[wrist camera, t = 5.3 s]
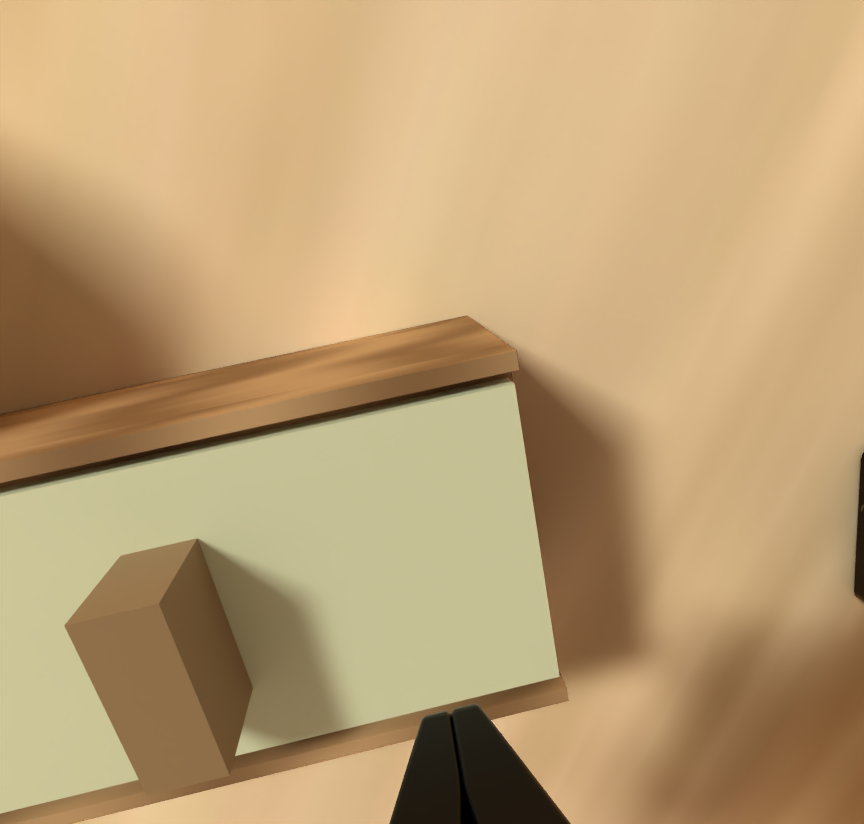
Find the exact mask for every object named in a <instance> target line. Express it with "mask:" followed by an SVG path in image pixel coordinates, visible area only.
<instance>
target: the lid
mask: <svg viewBox="0 0 864 824" xmlns="http://www.w3.org/2000/svg"><path fill="white" fill-rule="evenodd" d="M556 677H560V676H559V670H558V663H557V656H556V650H555V643H554V637H553V630H552V624H551V617H550V611H549V604H548V598H547V591H546V585H545V578H544V572H543V565H542V558H541V552H540V545H539V539H538V532H537V526H536V519H535V513H534V506H533V500H532V493H531V487H530V480H529V473H528V467H527V460H526V454H525V447H524V441H523V434H522V428H521V421H520V415H519V408H518V402H517V395H516V388H515V384H514V383H513V382H512V381H511V380H510V379H509V378H508V377H507V378H503V379H498V380H493V381H489V382H484V383H480V384H475V385H471V386H466V387H461V388H457V389H452V390H448V391H443V392H438V393H434V394H429V395H425V396H420V397H416V398H411V399H406V400H402V401H397V402H393V403H388V404H384V405H379V406H374V407H370V408H365V409H361V410H356V411H351V412H347V413H342V414H338V415H333V416H329V417H324V418H319V419H315V420H310V421H306V422H301V423H296V424H292V425H287V426H283V427H278V428H274V429H269V430H264V431H260V432H255V433H251V434H246V435H241V436H237V437H232V438H228V439H223V440H219V441H214V442H209V443H205V444H200V445H196V446H191V447H186V448H182V449H177V450H173V451H168V452H164V453H159V454H154V455H150V456H145V457H141V458H136V459H131V460H127V461H122V462H118V463H113V464H109V465H104V466H99V467H95V468H90V469H86V470H81V471H77V472H72V473H67V474H63V475H58V476H54V477H49V478H44V479H40V480H35V481H31V482H26V483H22V484H17V485H12V486H8V487H3V488H0V814H1V813H5V812H9V811H13V810H17V809H21V808H25V807H30V806H34V805H38V804H42V803H46V802H50V801H54V800H58V799H62V798H66V797H70V796H74V795H79V794H83V793H87V792H91V791H95V790H99V789H103V788H107V787H111V786H115V785H119V784H123V783H128V782H132V781H136V780H139V781H140V783H141V785H142V787H143V789H144V792H145V794H146V796H149V795H153V794H157V793H162V792H166V791H170V790H174V789H178V788H182V787H186V786H190V785H194V784H198V783H202V782H206V781H210V780H214V779H218V778H222V777H226V776H230V773H231V769H232V766H233V762H234V758H235V756H238V755H242V754H246V753H250V752H254V751H258V750H262V749H266V748H270V747H274V746H279V745H283V744H287V743H291V742H295V741H299V740H303V739H307V738H311V737H315V736H319V735H323V734H328V733H332V732H336V731H340V730H344V729H348V728H352V727H356V726H360V725H364V724H368V723H372V722H377V721H381V720H385V719H389V718H393V717H397V716H401V715H405V714H409V713H413V712H417V711H421V710H426V709H430V708H434V707H438V706H442V705H446V704H450V703H454V702H458V701H462V700H466V699H470V698H475V697H479V696H483V695H487V694H491V693H495V692H499V691H503V690H507V689H511V688H515V687H519V686H524V685H528V684H532V683H536V682H540V681H544V680H548V679H552V678H556Z"/></svg>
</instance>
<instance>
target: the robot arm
mask: <svg viewBox="0 0 864 824" xmlns="http://www.w3.org/2000/svg"><path fill="white" fill-rule="evenodd" d="M854 592H855V596H856V597H857V598H858V599H860V600H861V601H862V602H864V453H863V454H862V458H861V470H860V489H859V509H858V528H857V548H856V567H855V587H854ZM390 824H571V823H570V822H569V821H568V820H567V818H566V817H565V816H564V814H563V813H562V812H561V810H560V809H559V808H558V807H557V805H556V804H555V803H554V801H553V800H552V799H551V798H550V796H549V795H548V794H547V792H546V791H545V790H544V789H543V787H542V786H541V785H540V783H539V782H538V781H537V779H536V778H535V777H534V776H533V774H532V773H531V772H530V770H529V769H528V768H527V767H526V765H525V764H524V763H523V761H522V760H521V759H520V757H519V756H518V755H517V754H516V752H515V751H514V750H513V748H512V747H511V746H510V745H509V743H508V742H507V741H506V739H505V738H504V737H503V735H502V734H501V733H500V732H499V730H498V729H497V728H496V726H495V725H494V724H493V723H492V721H491V720H490V719H489V717H488V716H487V715H486V713H485V712H484V711H483V710H482V708H481V707H480V706H479V705H478V704H470V705H466V706H462V707H458V708H454V709H453V710H452V712H451V714H450V712H449V711H441V712H437V713H433V714H429V715H426V716H424V717H423V719H422V721H421V723H420V726H419V730H418V733H417V736H416V739H415V743H414V746H413V749H412V752H411V756H410V759H409V762H408V765H407V769H406V772H405V775H404V778H403V782H402V785H401V788H400V791H399V795H398V798H397V801H396V804H395V807H394V811H393V814H392V817H391V820H390Z"/></svg>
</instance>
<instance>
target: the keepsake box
mask: <svg viewBox="0 0 864 824" xmlns="http://www.w3.org/2000/svg"><path fill="white" fill-rule="evenodd" d="M517 370H519V365H518V358H517V351H516V350H515V349H513V348H512V347H511V346H509V345H508V344H506V343H505V342H504V341H502V340H501V339H499V338H498V337H497V336H495V335H494V334H492V333H491V332H490V331H488V330H487V329H485V328H484V327H483V326H481V325H480V324H478V323H477V322H475V321H474V320H473V319H471V318H470V317H468V316H463V317H458V318H454V319H449V320H444V321H439V322H435V323H430V324H425V325H421V326H416V327H411V328H406V329H402V330H397V331H392V332H388V333H383V334H378V335H373V336H369V337H364V338H359V339H355V340H350V341H345V342H341V343H336V344H331V345H326V346H322V347H317V348H312V349H308V350H303V351H298V352H293V353H289V354H284V355H279V356H275V357H270V358H265V359H260V360H256V361H251V362H246V363H242V364H237V365H232V366H227V367H223V368H218V369H213V370H209V371H204V372H199V373H194V374H190V375H185V376H180V377H176V378H171V379H166V380H161V381H157V382H152V383H147V384H143V385H138V386H133V387H128V388H124V389H119V390H114V391H110V392H105V393H100V394H95V395H91V396H86V397H81V398H77V399H72V400H67V401H62V402H58V403H53V404H48V405H44V406H39V407H34V408H30V409H25V410H20V411H15V412H11V413H6V414H1V415H0V488H3V487H8V486H12V485H17V484H22V483H26V482H31V481H35V480H40V479H44V478H49V477H54V476H58V475H63V474H67V473H72V472H77V471H81V470H86V469H90V468H95V467H99V466H104V465H109V464H113V463H118V462H122V461H127V460H131V459H136V458H141V457H145V456H150V455H154V454H159V453H164V452H168V451H173V450H177V449H182V448H186V447H191V446H196V445H200V444H205V443H209V442H214V441H219V440H223V439H228V438H232V437H237V436H241V435H246V434H251V433H255V432H260V431H264V430H269V429H274V428H278V427H283V426H287V425H292V424H296V423H301V422H306V421H310V420H315V419H319V418H324V417H329V416H333V415H338V414H342V413H347V412H351V411H356V410H361V409H365V408H370V407H374V406H379V405H384V404H388V403H393V402H397V401H402V400H406V399H411V398H416V397H420V396H425V395H429V394H434V393H438V392H443V391H448V390H452V389H457V388H461V387H466V386H471V385H475V384H480V383H484V382H489V381H493V380H498V379H503V378H507V377H508V378H509V379H510V380H511V381H512V382H513V380H512V374H511V372H512V371H517ZM559 676H560V677H556V678H552V679H548V680H544V681H540V682H536V683H532V684H528V685H524V686H519V687H515V688H511V689H507V690H503V691H499V692H495V693H491V694H487V695H483V696H479V697H475V698H470V699H466V700H462V701H458V702H454V703H450V704H446V705H442V706H438V707H434V708H430V709H426V710H421V711H417V712H413V713H409V714H405V715H401V716H397V717H393V718H389V719H385V720H381V721H377V722H372V723H368V724H364V725H360V726H356V727H352V728H348V729H344V730H340V731H336V732H332V733H328V734H323V735H319V736H315V737H311V738H307V739H303V740H299V741H295V742H291V743H287V744H283V745H279V746H274V747H270V748H266V749H262V750H258V751H254V752H250V753H246V754H242V755H238V756H235V758H234V762H233V766H232V769H231V773H230V776H226V777H222V778H218V779H214V780H210V781H206V782H202V783H198V784H194V785H190V786H186V787H182V788H178V789H174V790H170V791H166V792H162V793H157V794H153V795H149V796H146V794H145V792H144V789H143V787H142V785H141V783H140V781H139V780H136V781H132V782H128V783H123V784H119V785H115V786H111V787H107V788H103V789H99V790H95V791H91V792H87V793H83V794H79V795H74V796H70V797H66V798H62V799H58V800H54V801H50V802H46V803H42V804H38V805H34V806H30V807H25V808H21V809H17V810H13V811H9V812H5V813H1V814H0V824H72V823H76V822H80V821H84V820H88V819H92V818H96V817H100V816H104V815H109V814H113V813H117V812H121V811H125V810H129V809H133V808H137V807H141V806H145V805H149V804H153V803H157V802H161V801H165V800H169V799H173V798H177V797H181V796H185V795H189V794H193V793H198V792H202V791H206V790H210V789H214V788H218V787H222V786H226V785H230V784H234V783H238V782H242V781H246V780H250V779H254V778H258V777H262V776H266V775H270V774H274V773H278V772H282V771H287V770H291V769H295V768H299V767H303V766H307V765H311V764H315V763H319V762H323V761H327V760H331V759H335V758H339V757H343V756H347V755H351V754H355V753H359V752H363V751H367V750H371V749H376V748H380V747H384V746H388V745H392V744H396V743H400V742H404V741H408V740H412V739H416V736H417V733H418V730H419V726H420V723H421V721H422V719H423V717H424V716H426V715H429V714H433V713H437V712H441V711H449V712H450V714H451V712H452V710H453V709H454V708H458V707H462V706H466V705H470V704H478V705H479V706H480V707H481V708H482V710H483V711H484V712H485V713H486V715H487V716H488V717H489V719H490V720H493V719H497V718H501V717H505V716H509V715H513V714H517V713H521V712H525V711H529V710H533V709H537V708H541V707H545V706H549V705H553V704H558V703H562V702H566V701H569V700H568V693H567V688H566V685H565V683H564V681H563V679H562V676H561V674H560V672H559Z"/></svg>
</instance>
